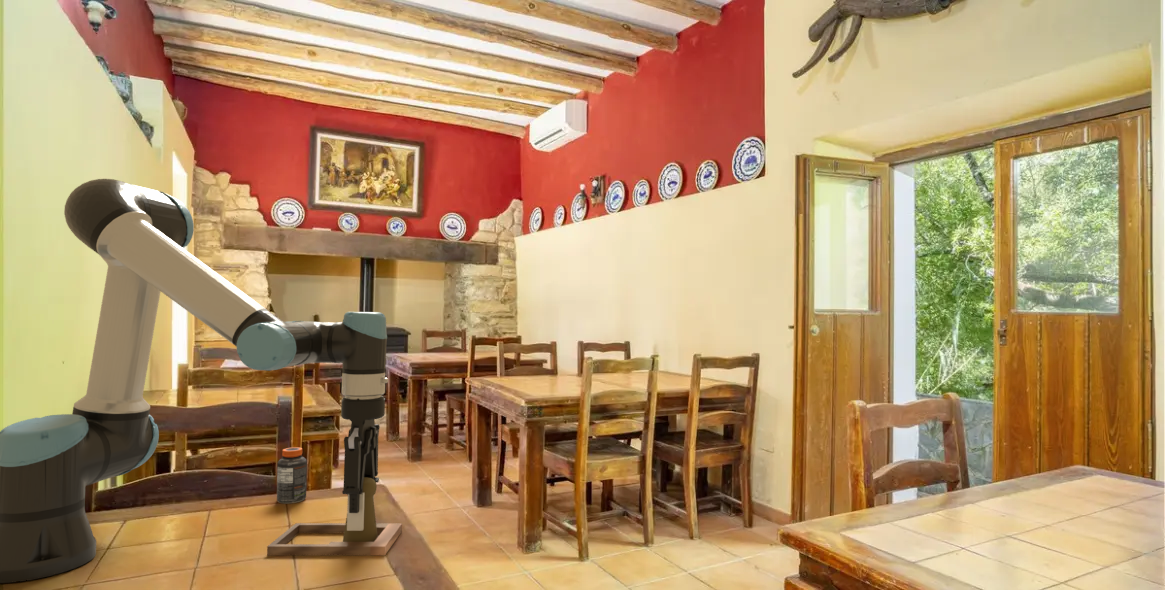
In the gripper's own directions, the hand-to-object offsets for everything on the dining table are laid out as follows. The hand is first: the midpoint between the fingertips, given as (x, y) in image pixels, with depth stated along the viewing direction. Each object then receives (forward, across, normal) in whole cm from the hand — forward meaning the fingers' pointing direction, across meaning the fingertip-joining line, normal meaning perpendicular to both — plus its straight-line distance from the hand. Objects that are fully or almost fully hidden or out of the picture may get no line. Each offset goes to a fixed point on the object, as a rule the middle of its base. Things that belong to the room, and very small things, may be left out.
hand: (360, 524), depth 117 cm
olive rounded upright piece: (+3, 0, 0) cm, 3 cm away
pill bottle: (+4, +26, +23) cm, 35 cm away
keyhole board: (+3, 0, +4) cm, 5 cm away
